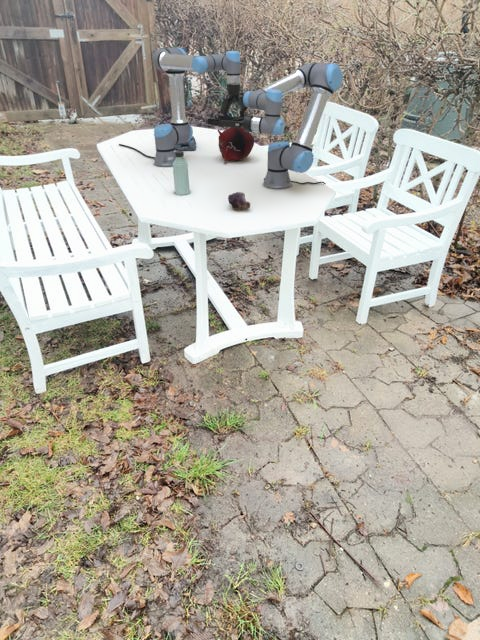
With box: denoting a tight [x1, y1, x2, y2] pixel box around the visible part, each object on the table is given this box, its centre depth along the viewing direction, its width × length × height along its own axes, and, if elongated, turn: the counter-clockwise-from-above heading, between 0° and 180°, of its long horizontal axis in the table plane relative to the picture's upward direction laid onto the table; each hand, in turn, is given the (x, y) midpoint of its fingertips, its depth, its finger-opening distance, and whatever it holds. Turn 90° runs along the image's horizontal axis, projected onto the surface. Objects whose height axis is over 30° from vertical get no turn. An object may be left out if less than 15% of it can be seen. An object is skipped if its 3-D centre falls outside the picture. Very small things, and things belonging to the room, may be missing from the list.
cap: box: [174, 150, 185, 158], centre depth 236 cm, size 4×4×2 cm
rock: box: [227, 191, 251, 211], centre depth 224 cm, size 12×9×10 cm
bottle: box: [172, 156, 191, 196], centre depth 241 cm, size 8×8×21 cm
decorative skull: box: [217, 127, 255, 165], centre depth 297 cm, size 21×24×25 cm
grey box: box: [174, 135, 197, 151], centre depth 321 cm, size 17×18×20 cm
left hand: (234, 125), depth 259 cm, fingers open, 13 cm apart
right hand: (213, 119), depth 226 cm, fingers open, 13 cm apart
